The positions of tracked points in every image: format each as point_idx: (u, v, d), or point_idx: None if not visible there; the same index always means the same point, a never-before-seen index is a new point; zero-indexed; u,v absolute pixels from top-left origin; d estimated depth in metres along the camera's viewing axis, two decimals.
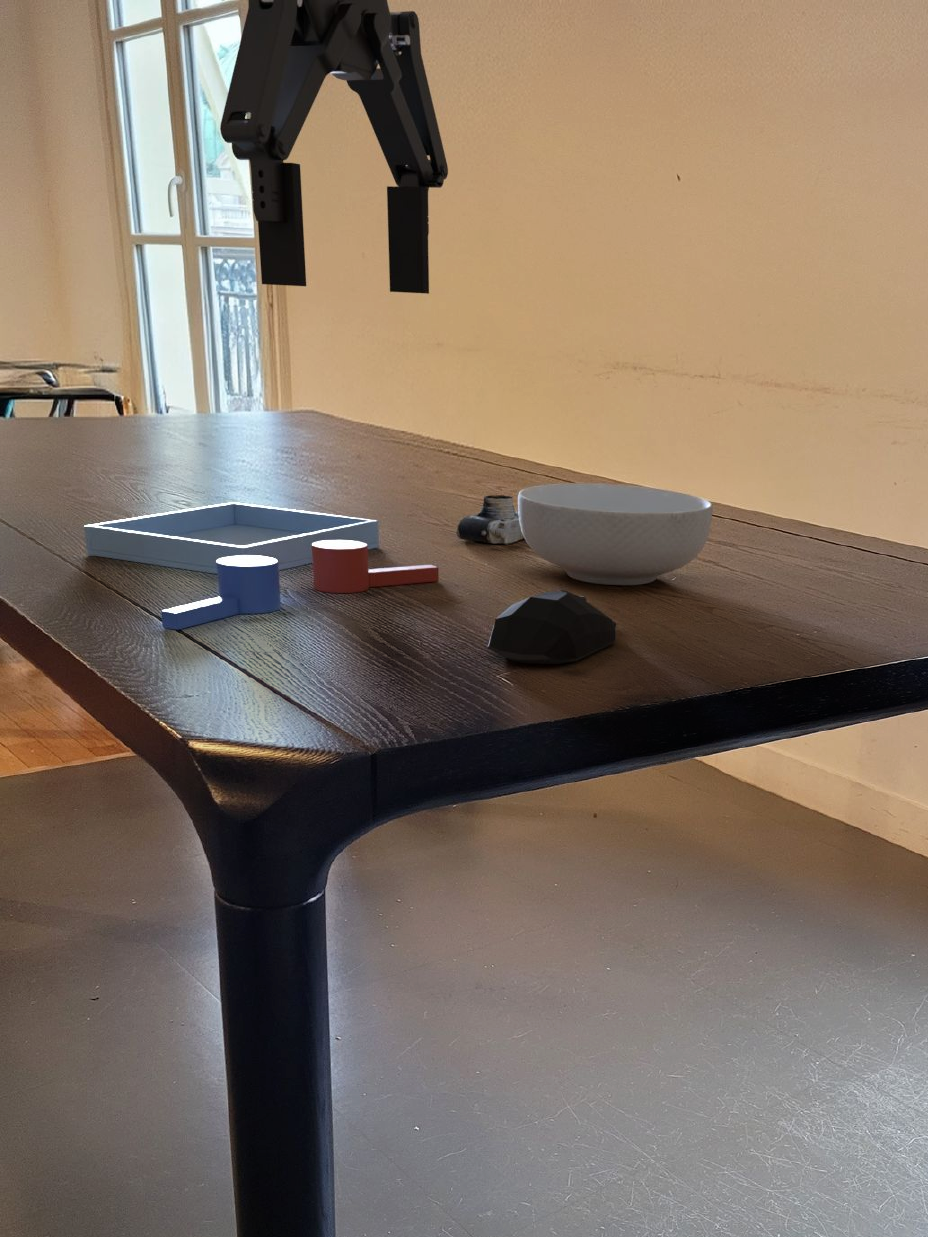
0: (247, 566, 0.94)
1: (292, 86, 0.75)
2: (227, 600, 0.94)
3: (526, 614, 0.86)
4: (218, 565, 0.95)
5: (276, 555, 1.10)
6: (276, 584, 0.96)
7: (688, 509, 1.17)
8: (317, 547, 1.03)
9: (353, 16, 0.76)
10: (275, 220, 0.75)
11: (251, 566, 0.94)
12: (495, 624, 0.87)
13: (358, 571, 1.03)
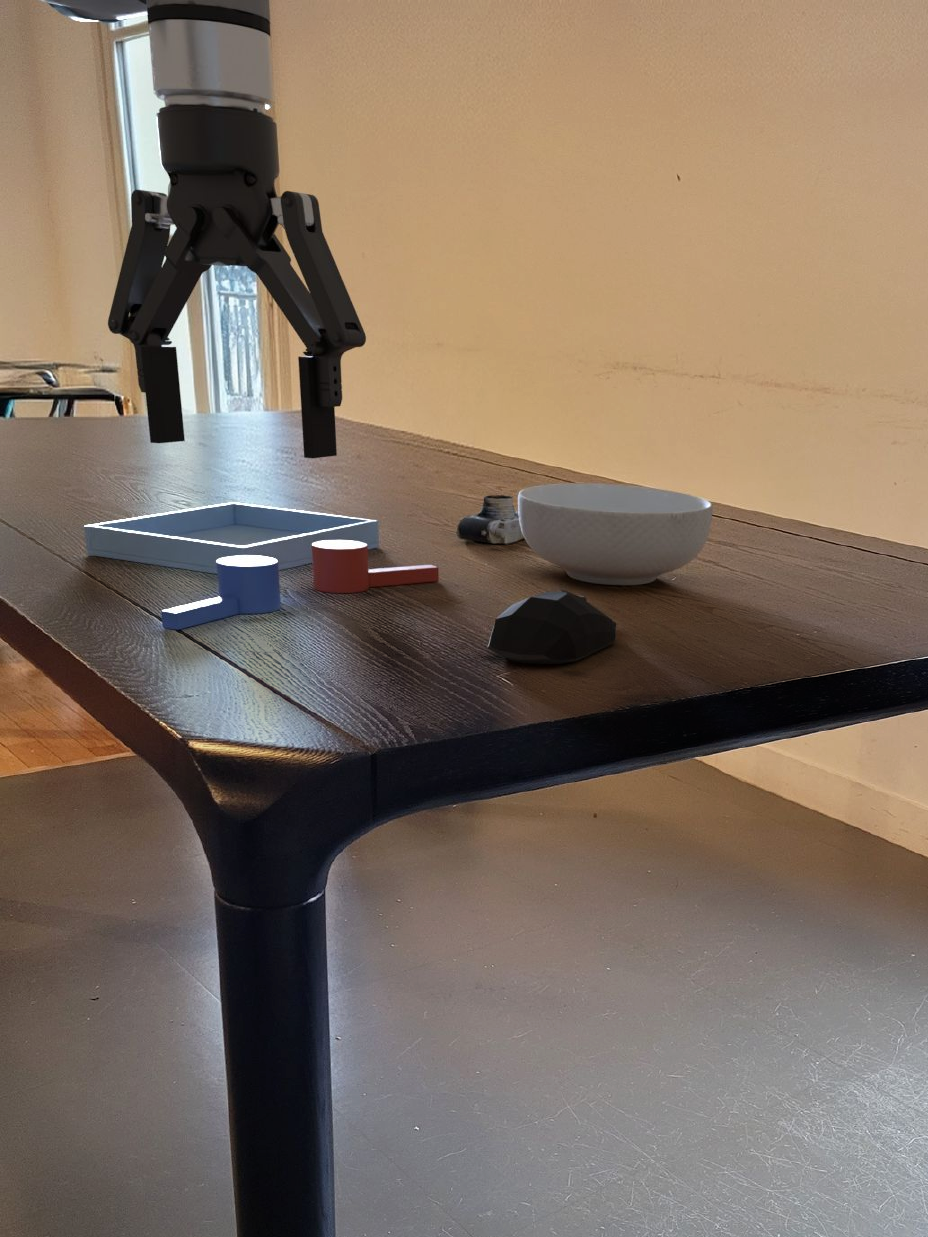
0: (247, 566, 0.94)
1: (302, 291, 0.87)
2: (227, 600, 0.94)
3: (526, 614, 0.86)
4: (218, 565, 0.95)
5: (276, 555, 1.10)
6: (276, 584, 0.96)
7: (688, 509, 1.17)
8: (317, 547, 1.03)
9: None
10: (339, 405, 0.89)
11: (251, 566, 0.94)
12: (495, 624, 0.87)
13: (358, 571, 1.03)
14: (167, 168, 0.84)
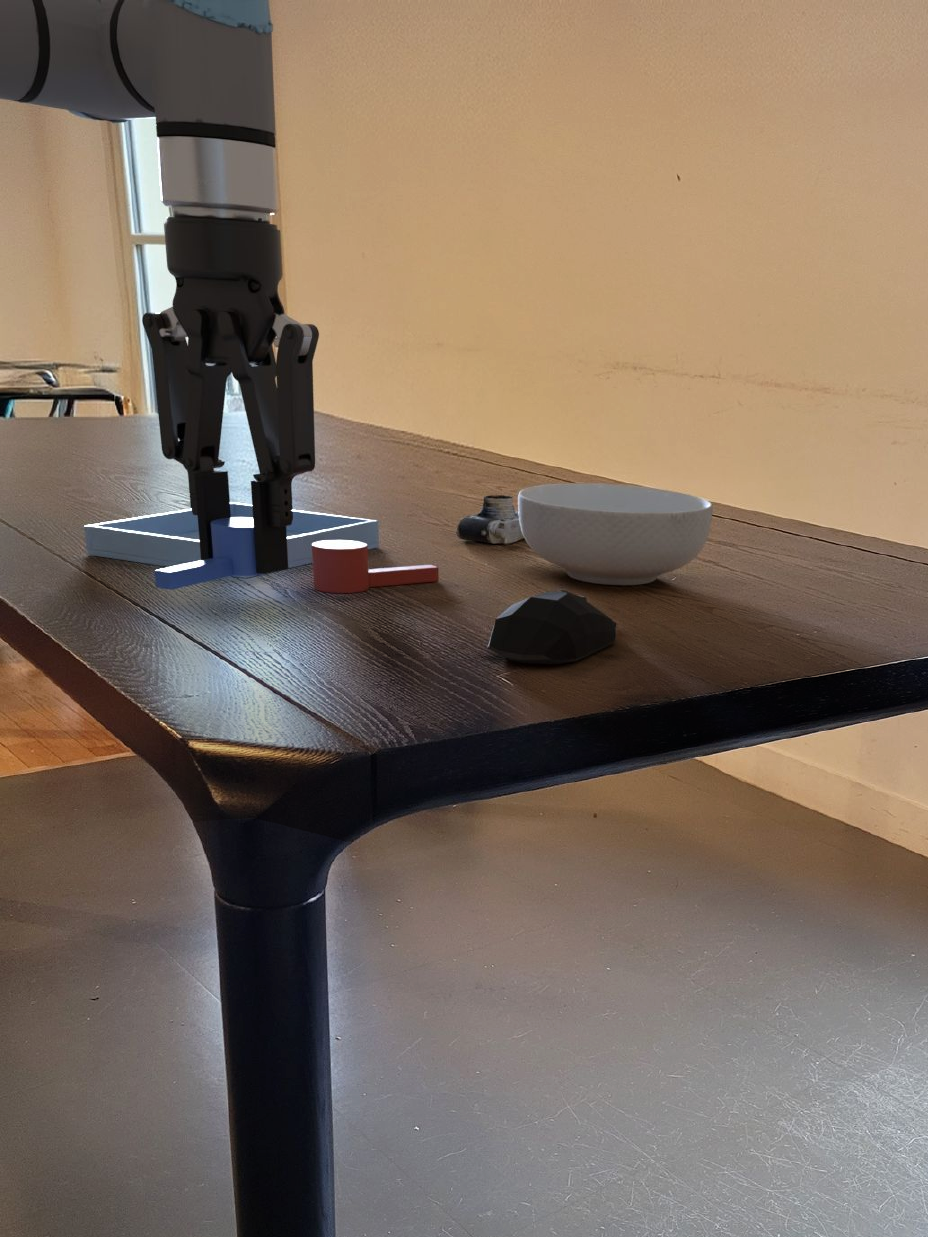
0: (242, 527, 0.93)
1: (275, 412, 0.91)
2: (221, 561, 0.93)
3: (526, 614, 0.86)
4: (212, 526, 0.94)
5: None
6: None
7: (688, 509, 1.17)
8: (317, 547, 1.03)
9: None
10: (290, 524, 0.94)
11: (246, 527, 0.93)
12: (495, 624, 0.87)
13: (358, 571, 1.03)
14: (173, 274, 0.86)
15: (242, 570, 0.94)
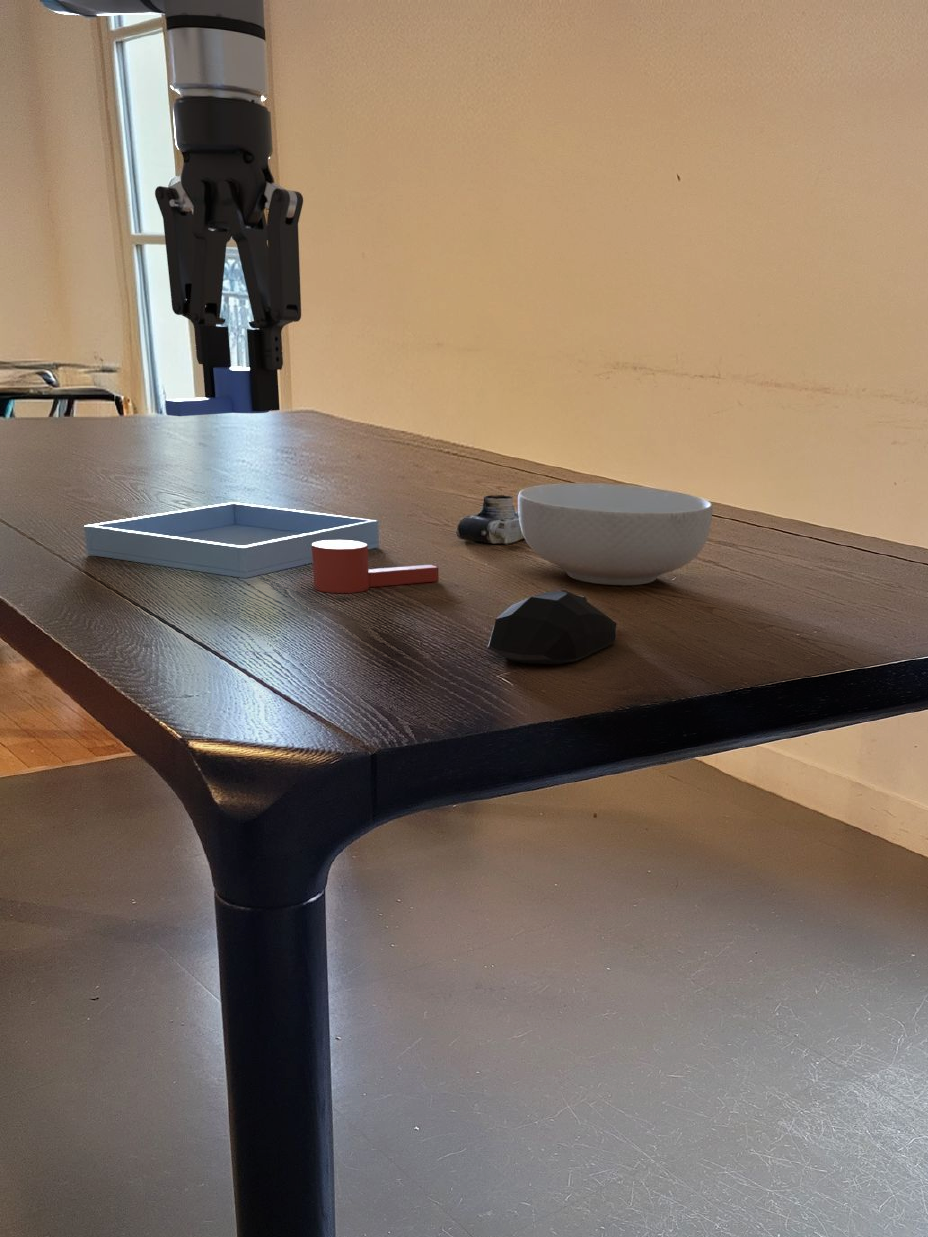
0: (239, 370, 1.10)
1: (267, 269, 1.08)
2: (222, 399, 1.09)
3: (526, 614, 0.86)
4: (215, 370, 1.10)
5: (276, 555, 1.10)
6: None
7: (688, 509, 1.17)
8: (317, 547, 1.03)
9: None
10: (281, 368, 1.11)
11: (243, 370, 1.10)
12: (495, 624, 0.87)
13: (358, 571, 1.03)
14: (181, 148, 1.03)
15: (240, 408, 1.11)
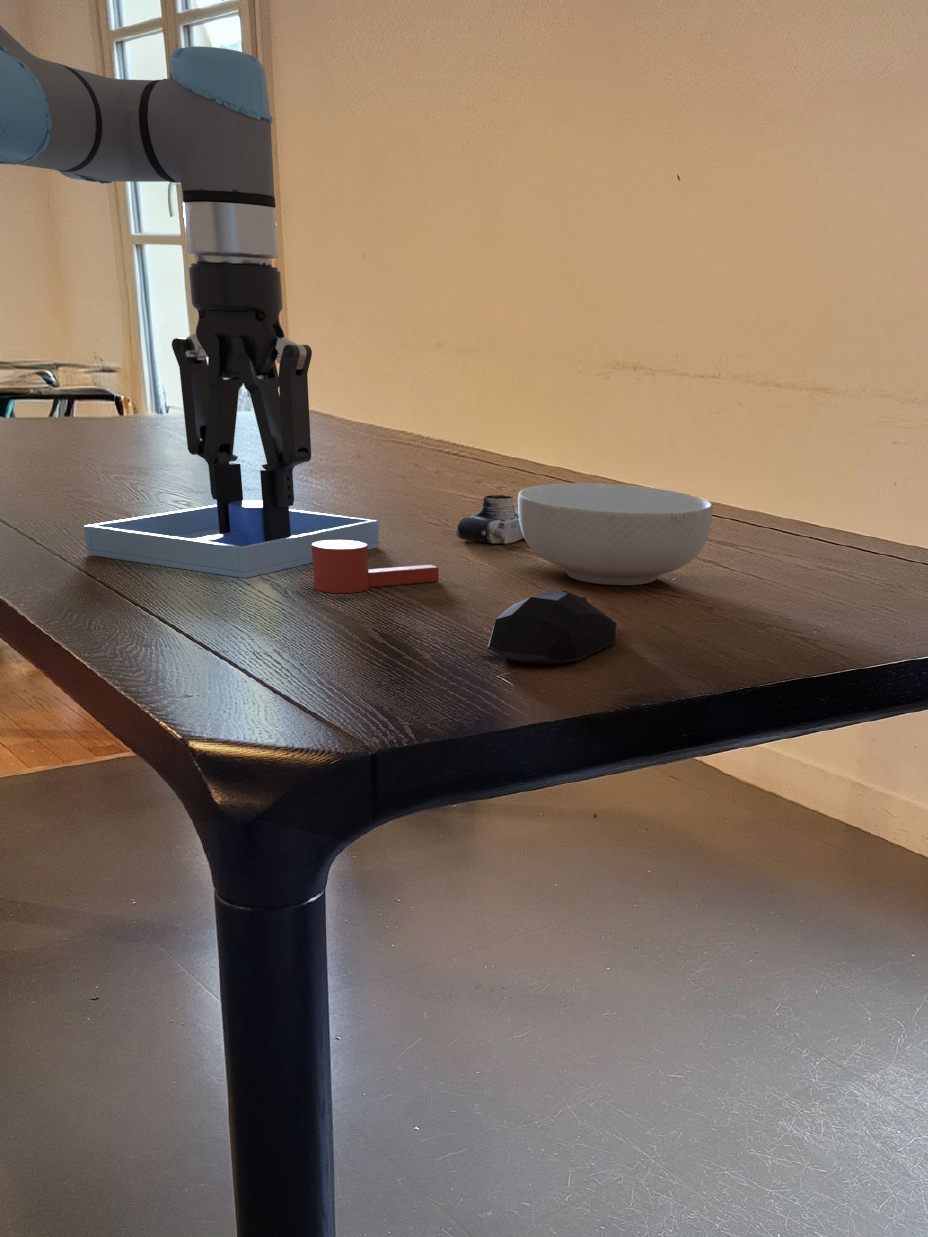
0: (253, 507, 1.16)
1: (279, 415, 1.14)
2: (237, 534, 1.16)
3: (526, 614, 0.86)
4: (229, 507, 1.17)
5: (276, 555, 1.10)
6: None
7: (688, 509, 1.17)
8: (317, 547, 1.03)
9: None
10: (292, 504, 1.17)
11: (256, 507, 1.17)
12: (495, 624, 0.87)
13: (358, 571, 1.03)
14: (197, 308, 1.10)
15: (253, 542, 1.18)
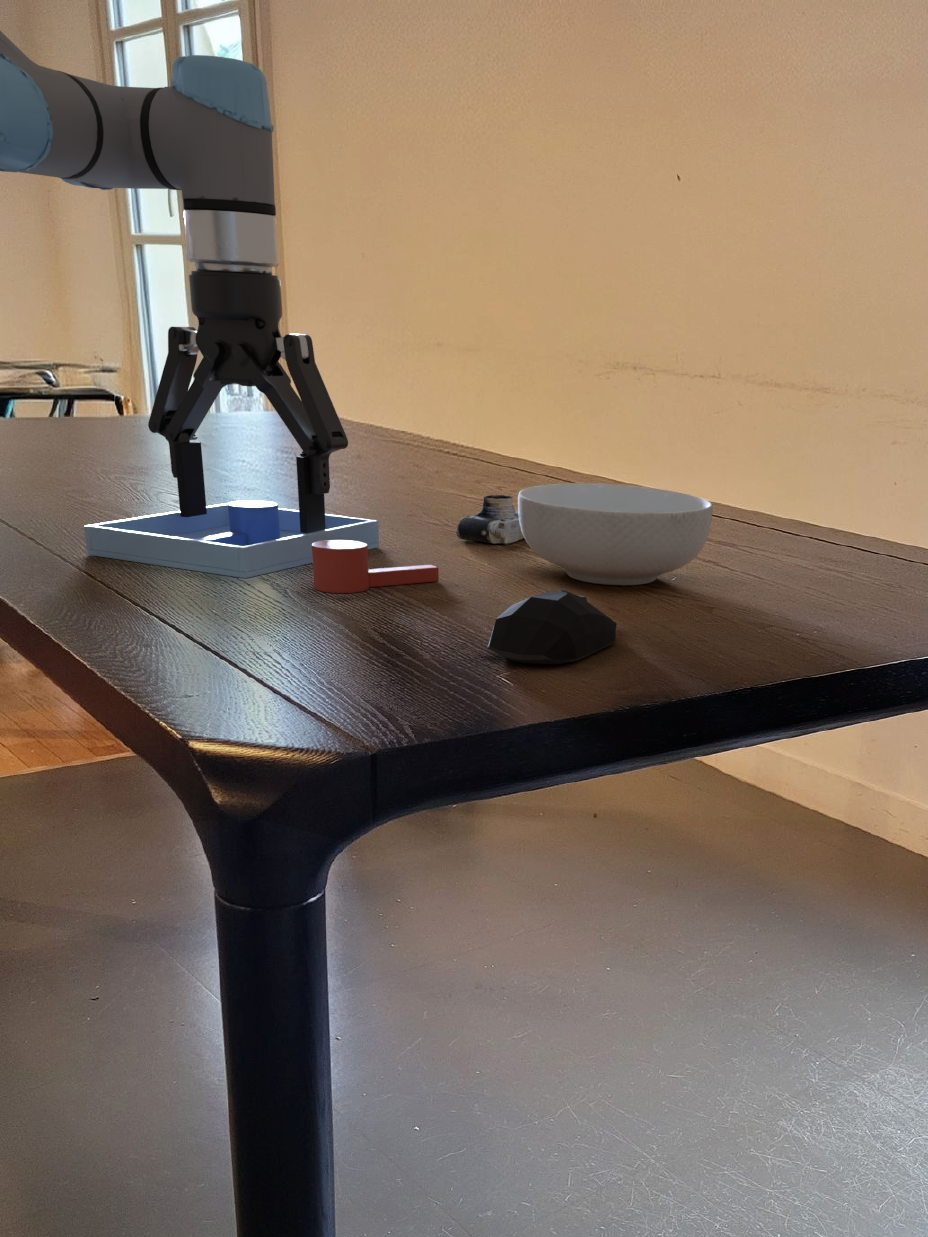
0: (253, 507, 1.16)
1: (299, 406, 1.13)
2: (237, 534, 1.16)
3: (526, 614, 0.86)
4: (229, 507, 1.17)
5: (276, 555, 1.10)
6: (276, 523, 1.19)
7: (688, 509, 1.17)
8: (317, 547, 1.03)
9: None
10: (328, 492, 1.15)
11: (256, 507, 1.17)
12: (495, 624, 0.87)
13: (358, 571, 1.03)
14: (197, 315, 1.10)
15: (253, 542, 1.18)
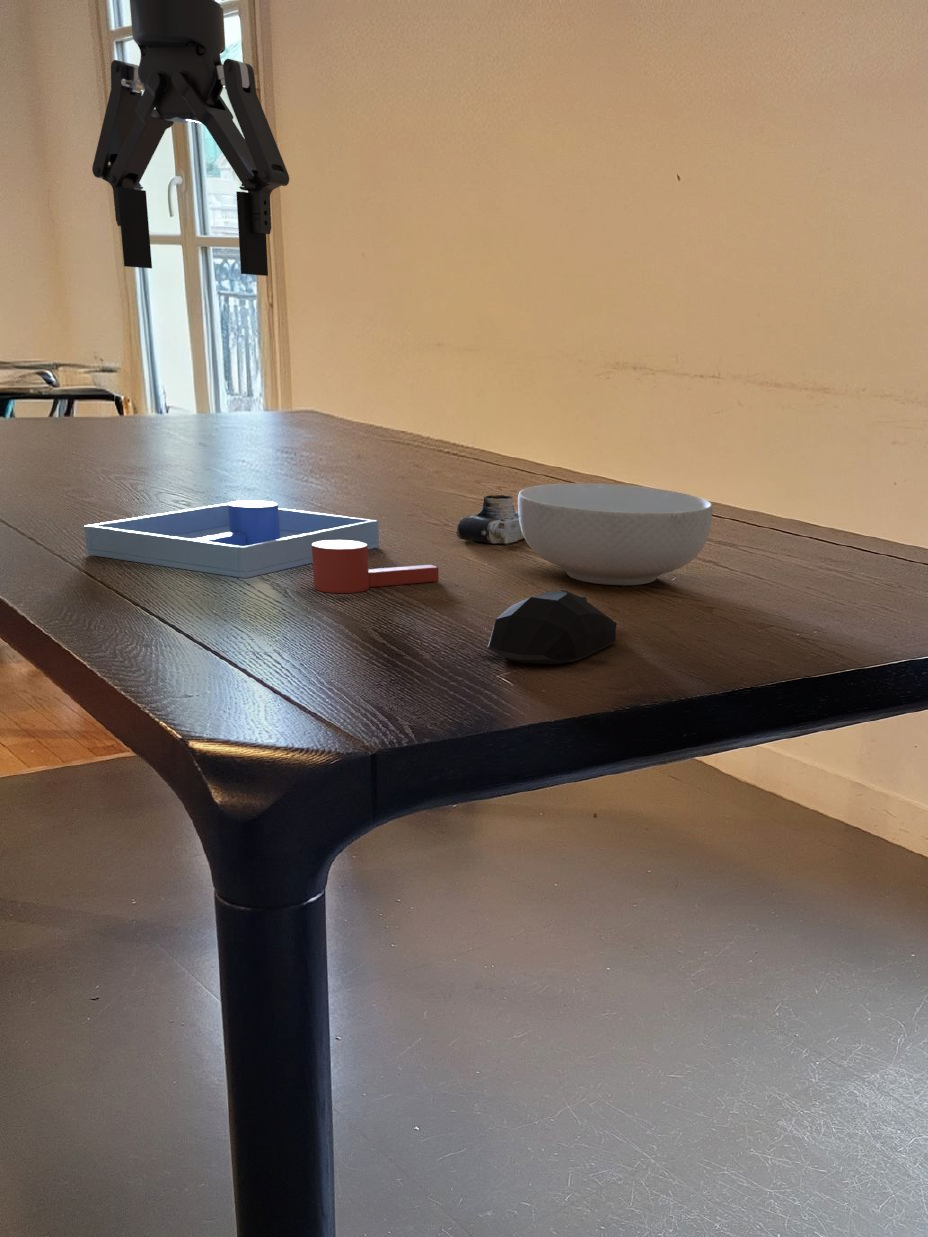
0: (253, 507, 1.16)
1: (241, 141, 1.12)
2: (237, 534, 1.16)
3: (526, 614, 0.86)
4: (229, 507, 1.17)
5: (276, 555, 1.10)
6: (276, 523, 1.19)
7: (688, 509, 1.17)
8: (317, 547, 1.03)
9: None
10: (269, 233, 1.14)
11: (256, 507, 1.17)
12: (495, 624, 0.87)
13: (358, 571, 1.03)
14: (137, 40, 1.09)
15: (253, 542, 1.18)
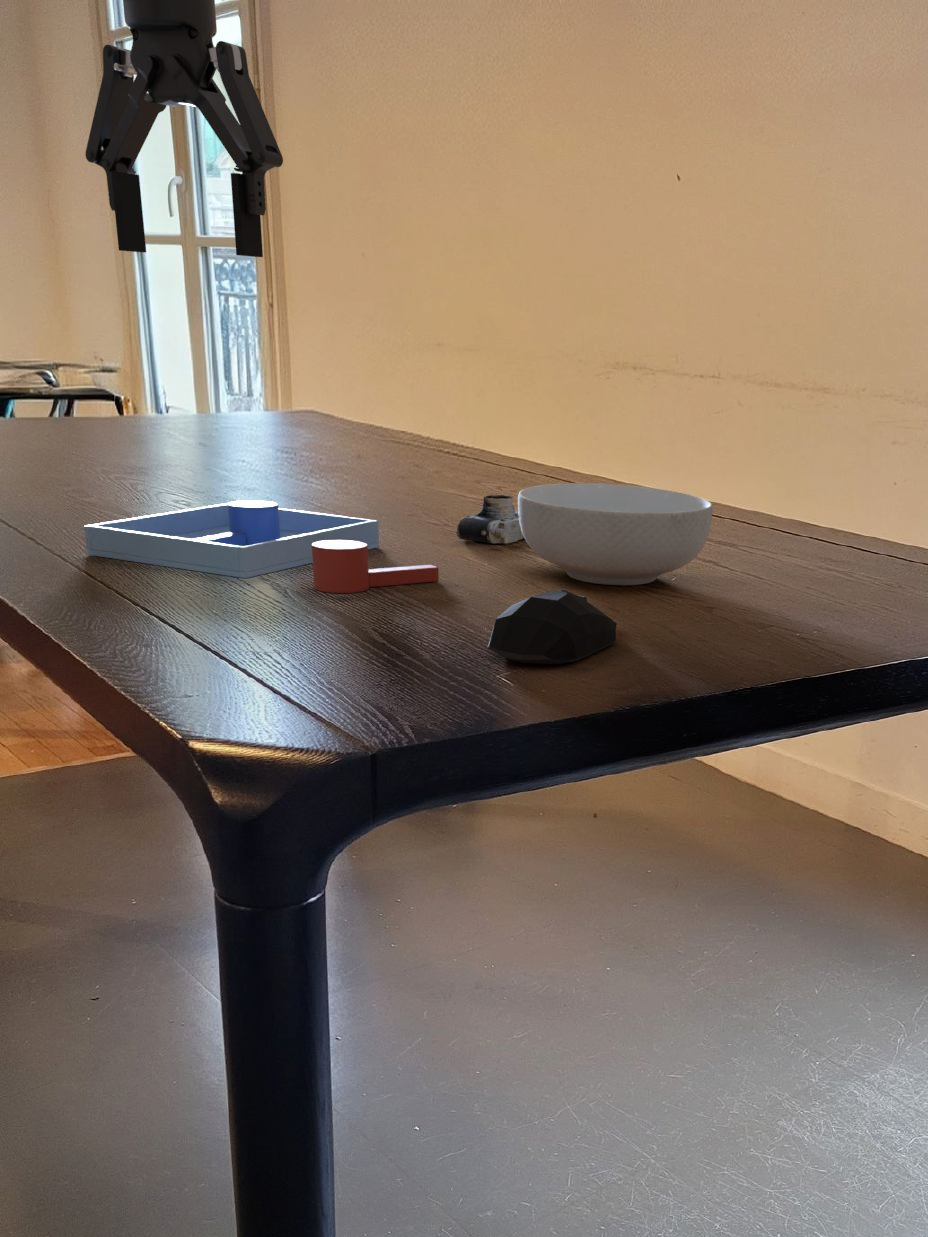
0: (253, 507, 1.16)
1: (234, 123, 1.13)
2: (237, 534, 1.16)
3: (526, 614, 0.86)
4: (229, 507, 1.17)
5: (276, 555, 1.10)
6: (276, 523, 1.19)
7: (688, 509, 1.17)
8: (317, 547, 1.03)
9: None
10: (263, 214, 1.15)
11: (256, 507, 1.17)
12: (495, 624, 0.87)
13: (358, 571, 1.03)
14: (129, 24, 1.10)
15: (253, 542, 1.18)
